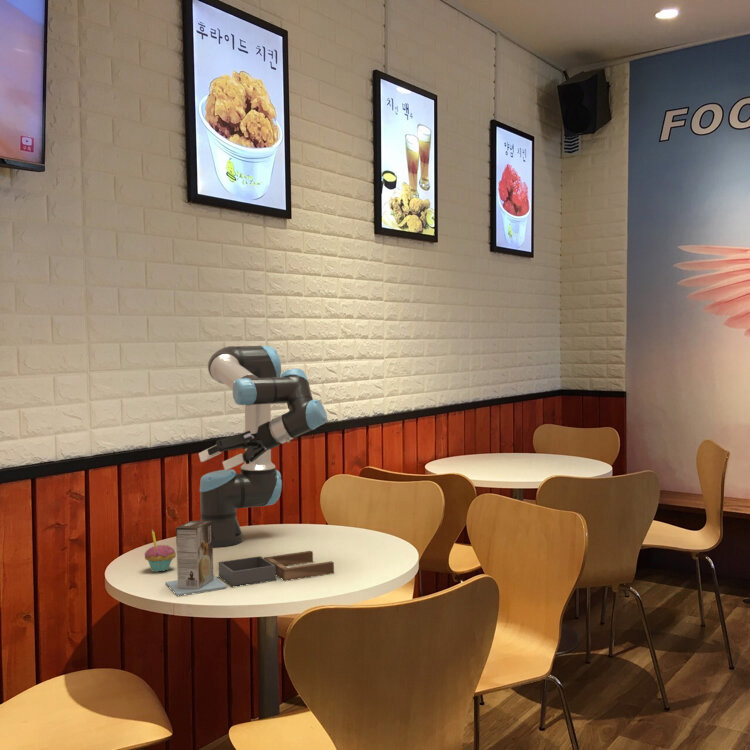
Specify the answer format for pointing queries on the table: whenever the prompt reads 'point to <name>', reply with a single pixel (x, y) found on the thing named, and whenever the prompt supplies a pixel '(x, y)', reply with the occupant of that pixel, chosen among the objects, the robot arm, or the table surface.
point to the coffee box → (194, 554)
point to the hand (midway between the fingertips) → (212, 462)
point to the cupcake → (159, 556)
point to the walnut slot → (299, 571)
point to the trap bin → (247, 571)
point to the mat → (209, 586)
